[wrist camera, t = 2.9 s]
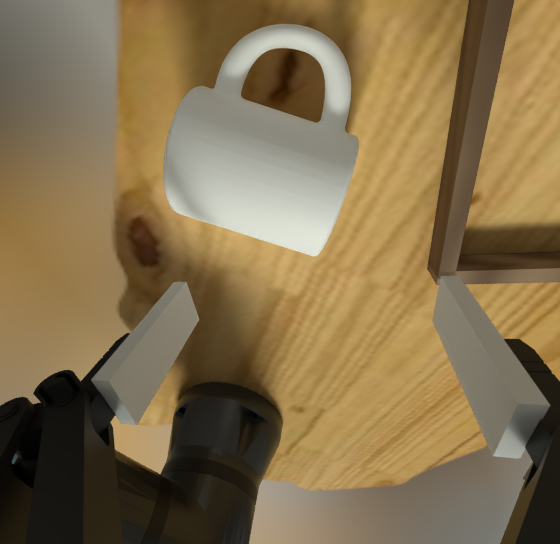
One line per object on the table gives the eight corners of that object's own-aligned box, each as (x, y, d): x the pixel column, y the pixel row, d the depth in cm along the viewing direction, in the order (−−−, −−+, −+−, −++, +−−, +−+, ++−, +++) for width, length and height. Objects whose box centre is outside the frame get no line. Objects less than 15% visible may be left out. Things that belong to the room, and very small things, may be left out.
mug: (317, 230, 25) (312, 279, 18) (205, 194, 24) (158, 230, 18) (379, 63, 18) (410, 42, 11) (230, 13, 18) (170, -38, 11)
